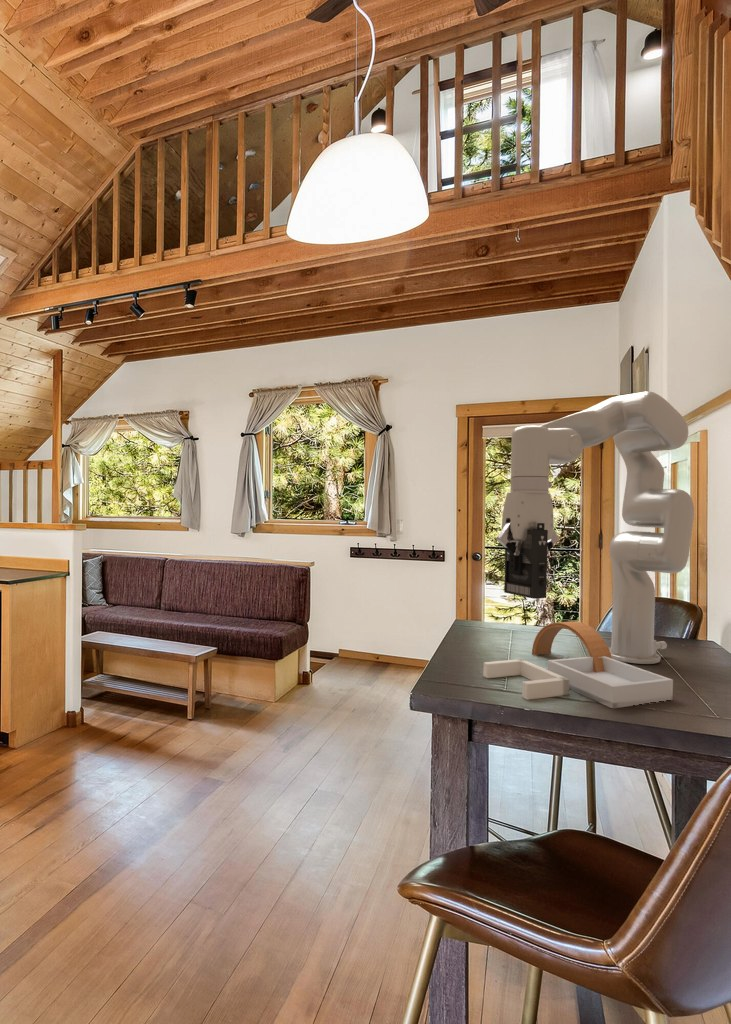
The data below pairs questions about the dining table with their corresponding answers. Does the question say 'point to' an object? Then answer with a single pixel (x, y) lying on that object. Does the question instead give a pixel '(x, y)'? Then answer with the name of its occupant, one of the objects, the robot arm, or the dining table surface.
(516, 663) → the cream piece
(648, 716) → the dining table surface
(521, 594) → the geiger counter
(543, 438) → the robot arm
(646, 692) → the parts tray
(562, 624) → the arch
